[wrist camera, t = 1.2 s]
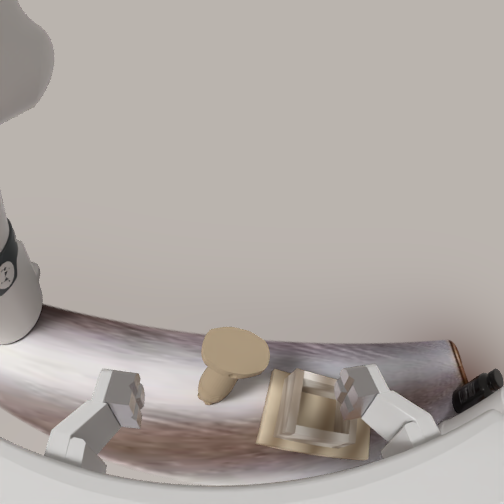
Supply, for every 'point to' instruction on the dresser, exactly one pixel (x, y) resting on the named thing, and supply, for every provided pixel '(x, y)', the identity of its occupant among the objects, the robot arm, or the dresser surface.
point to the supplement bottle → (477, 390)
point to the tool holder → (310, 418)
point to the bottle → (474, 411)
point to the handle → (230, 361)
